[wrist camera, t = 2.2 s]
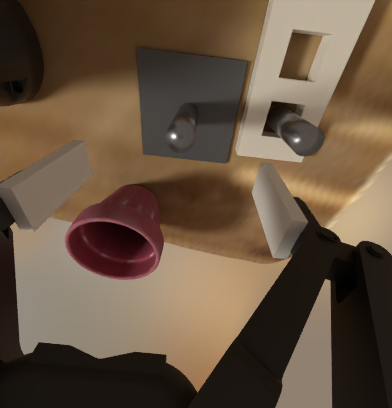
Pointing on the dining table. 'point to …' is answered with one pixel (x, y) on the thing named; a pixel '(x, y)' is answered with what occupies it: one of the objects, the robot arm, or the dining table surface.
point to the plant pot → (118, 235)
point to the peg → (182, 129)
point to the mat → (189, 100)
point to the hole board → (292, 88)
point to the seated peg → (295, 131)
